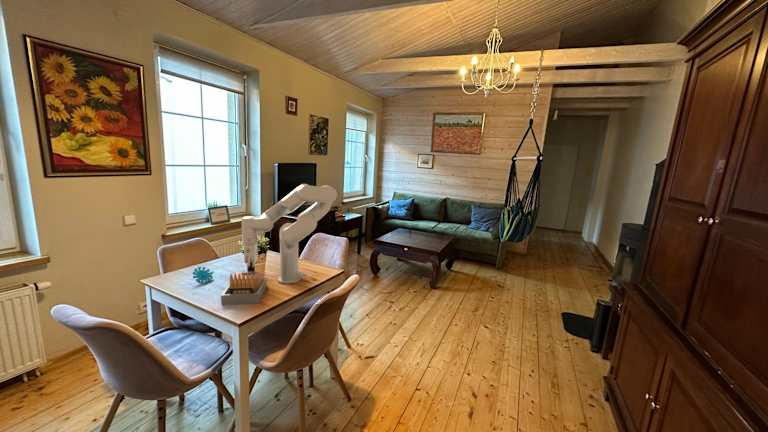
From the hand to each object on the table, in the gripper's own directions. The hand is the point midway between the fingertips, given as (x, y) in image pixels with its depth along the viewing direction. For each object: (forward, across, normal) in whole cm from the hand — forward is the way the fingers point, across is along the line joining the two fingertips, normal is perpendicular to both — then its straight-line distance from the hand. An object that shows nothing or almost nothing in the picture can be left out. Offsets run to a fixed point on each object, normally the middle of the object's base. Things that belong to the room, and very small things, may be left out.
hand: (251, 273), depth 161 cm
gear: (+6, +4, +24) cm, 25 cm away
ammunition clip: (+4, -21, 0) cm, 21 cm away
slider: (+3, -9, 0) cm, 9 cm away
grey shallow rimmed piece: (+5, -14, 0) cm, 15 cm away
